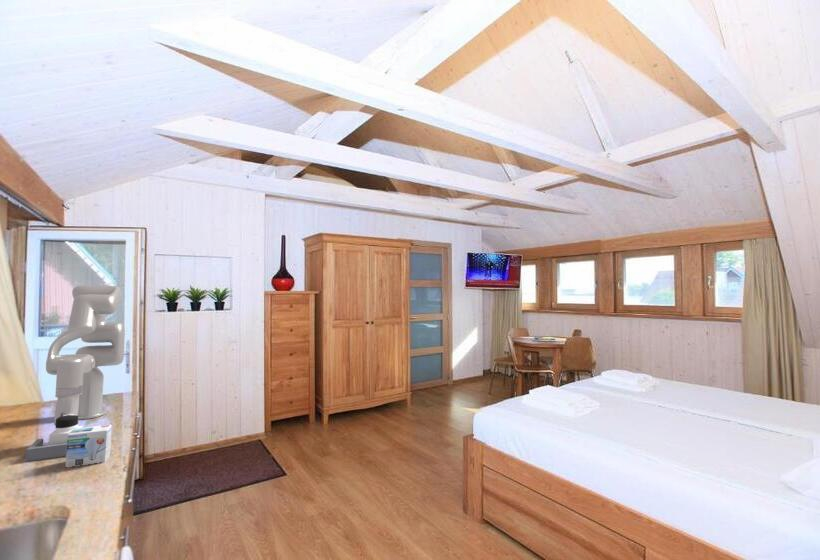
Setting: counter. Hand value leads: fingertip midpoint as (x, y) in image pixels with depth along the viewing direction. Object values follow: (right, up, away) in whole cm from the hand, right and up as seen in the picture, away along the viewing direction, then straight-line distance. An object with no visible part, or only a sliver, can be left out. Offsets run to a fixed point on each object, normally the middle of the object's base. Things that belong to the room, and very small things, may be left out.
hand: (66, 440), depth 142 cm
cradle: (+4, -1, -8) cm, 9 cm away
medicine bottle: (+5, -1, -6) cm, 7 cm away
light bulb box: (+20, -1, -14) cm, 24 cm away
